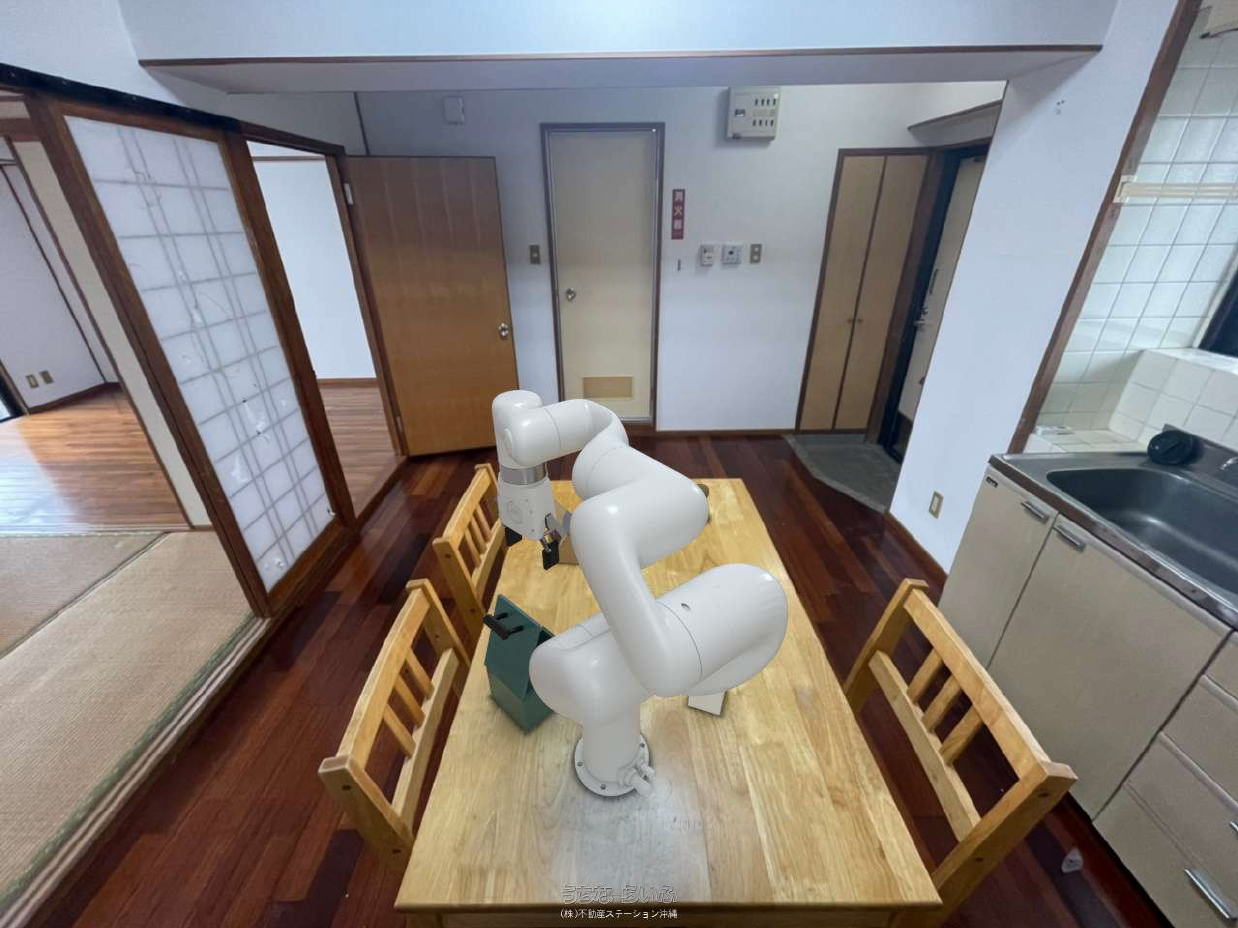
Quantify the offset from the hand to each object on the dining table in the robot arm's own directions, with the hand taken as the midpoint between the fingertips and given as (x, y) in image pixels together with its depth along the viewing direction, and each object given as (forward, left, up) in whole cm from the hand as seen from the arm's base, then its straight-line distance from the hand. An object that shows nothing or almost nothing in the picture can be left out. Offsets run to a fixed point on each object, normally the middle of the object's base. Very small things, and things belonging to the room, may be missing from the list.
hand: (532, 553), depth 90 cm
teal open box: (-2, +4, -30) cm, 30 cm away
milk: (-27, -17, -30) cm, 44 cm away
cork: (+10, -66, -30) cm, 73 cm away
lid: (-2, +8, -14) cm, 16 cm away
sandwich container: (+23, -31, -30) cm, 49 cm away
